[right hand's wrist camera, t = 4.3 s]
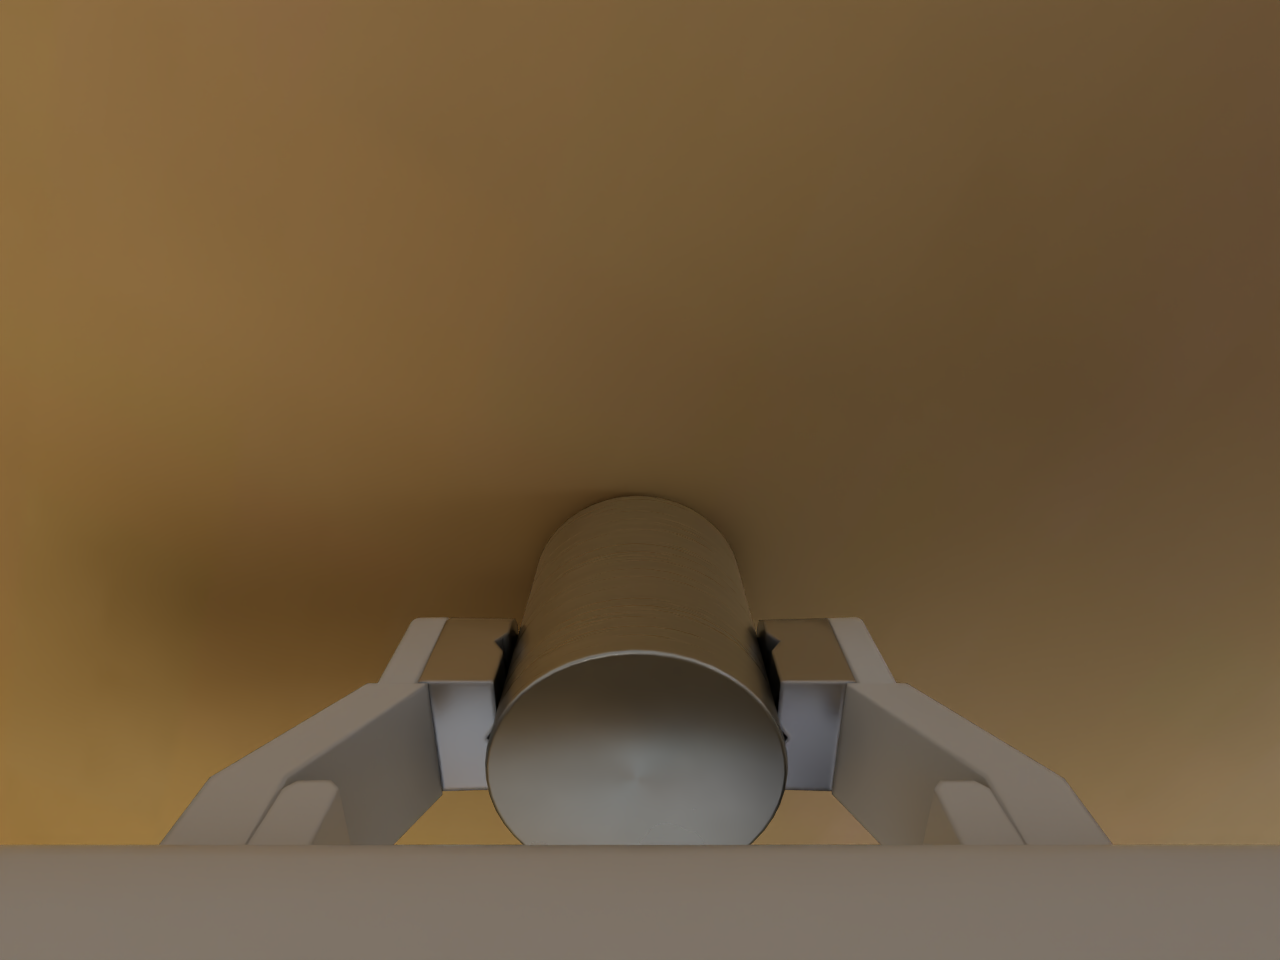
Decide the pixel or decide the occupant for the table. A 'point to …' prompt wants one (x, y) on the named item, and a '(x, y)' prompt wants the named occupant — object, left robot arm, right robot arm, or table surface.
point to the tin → (636, 690)
